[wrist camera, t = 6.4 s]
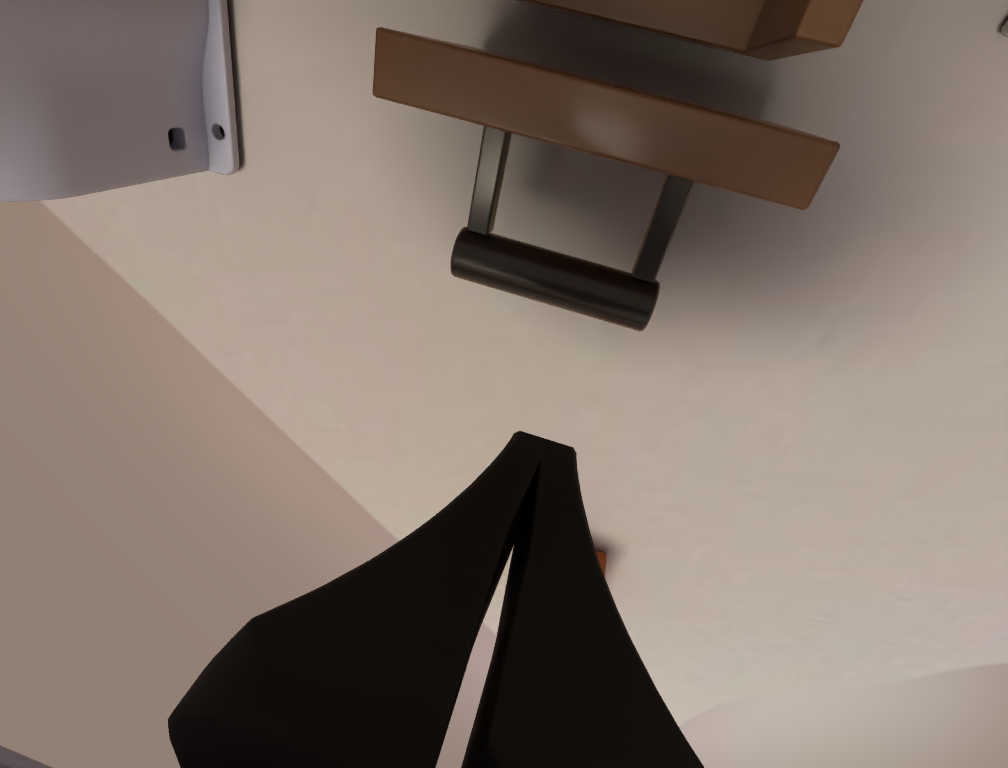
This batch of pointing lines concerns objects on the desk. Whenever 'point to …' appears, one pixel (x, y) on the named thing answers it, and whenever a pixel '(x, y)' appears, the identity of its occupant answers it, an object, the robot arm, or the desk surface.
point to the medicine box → (1005, 29)
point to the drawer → (616, 134)
